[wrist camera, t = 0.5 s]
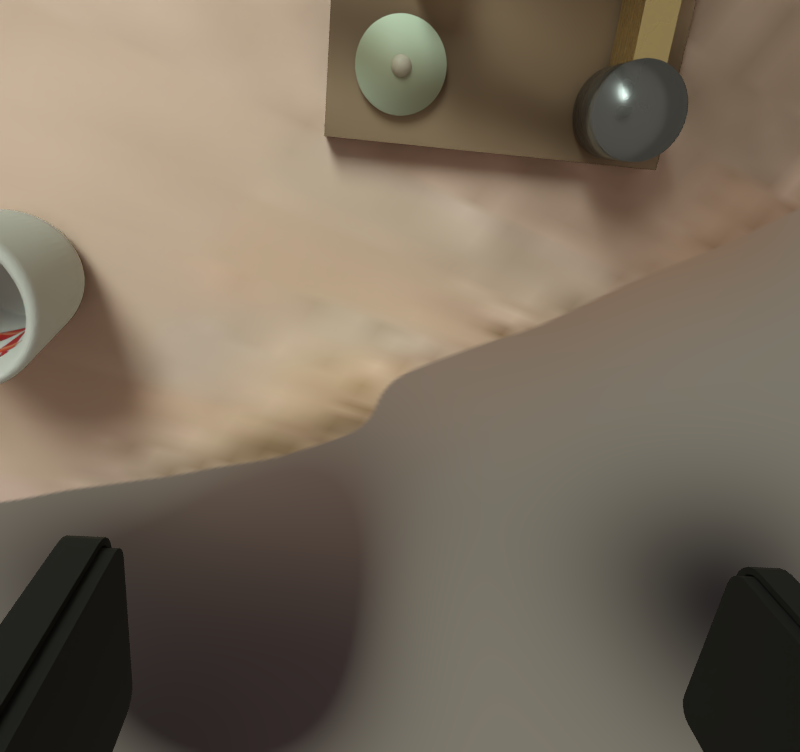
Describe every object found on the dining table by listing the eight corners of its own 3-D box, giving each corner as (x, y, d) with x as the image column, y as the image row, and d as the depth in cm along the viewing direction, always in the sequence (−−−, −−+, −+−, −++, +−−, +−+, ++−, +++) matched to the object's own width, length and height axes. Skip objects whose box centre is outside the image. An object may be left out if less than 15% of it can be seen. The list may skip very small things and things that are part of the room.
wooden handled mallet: (646, 163, 32) (674, 166, 29) (564, 154, 32) (585, 157, 29) (718, -151, 27) (760, -182, 25) (624, -166, 27) (655, -200, 24)
